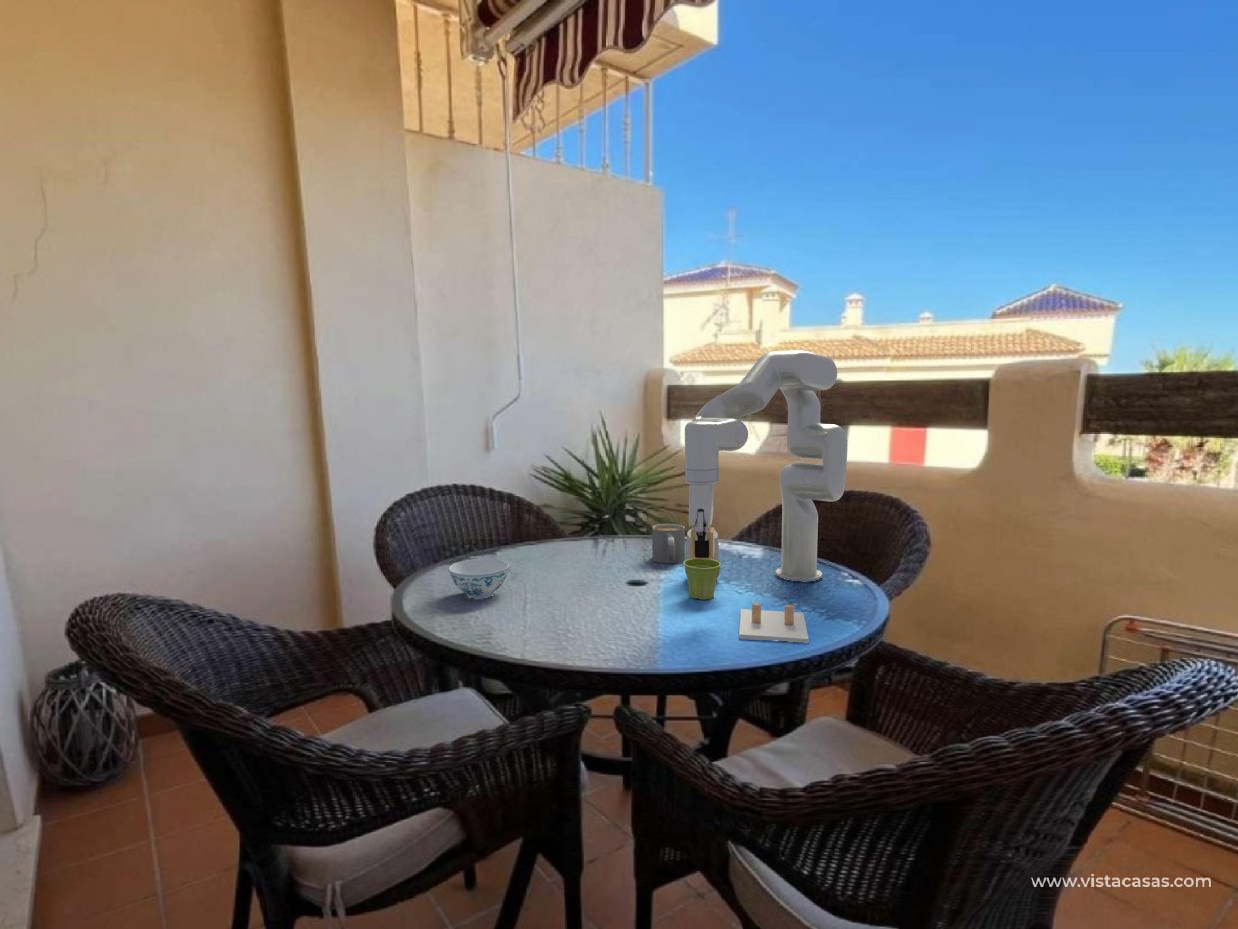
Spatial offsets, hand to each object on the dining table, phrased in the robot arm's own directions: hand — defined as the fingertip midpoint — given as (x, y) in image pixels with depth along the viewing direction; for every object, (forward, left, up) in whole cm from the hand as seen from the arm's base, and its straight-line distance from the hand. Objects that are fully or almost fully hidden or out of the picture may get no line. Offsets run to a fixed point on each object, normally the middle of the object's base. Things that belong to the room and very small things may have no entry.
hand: (703, 553), depth 151 cm
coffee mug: (-47, -14, -15) cm, 51 cm away
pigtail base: (+5, +16, -15) cm, 22 cm away
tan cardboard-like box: (0, 0, -1) cm, 1 cm away
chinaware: (-5, -57, -15) cm, 59 cm away
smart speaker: (-28, -2, -15) cm, 31 cm away
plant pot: (-14, -1, -15) cm, 20 cm away
